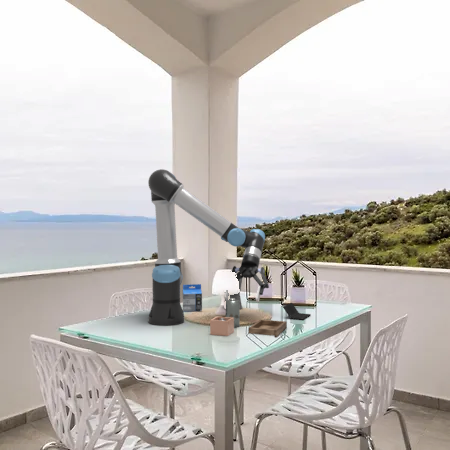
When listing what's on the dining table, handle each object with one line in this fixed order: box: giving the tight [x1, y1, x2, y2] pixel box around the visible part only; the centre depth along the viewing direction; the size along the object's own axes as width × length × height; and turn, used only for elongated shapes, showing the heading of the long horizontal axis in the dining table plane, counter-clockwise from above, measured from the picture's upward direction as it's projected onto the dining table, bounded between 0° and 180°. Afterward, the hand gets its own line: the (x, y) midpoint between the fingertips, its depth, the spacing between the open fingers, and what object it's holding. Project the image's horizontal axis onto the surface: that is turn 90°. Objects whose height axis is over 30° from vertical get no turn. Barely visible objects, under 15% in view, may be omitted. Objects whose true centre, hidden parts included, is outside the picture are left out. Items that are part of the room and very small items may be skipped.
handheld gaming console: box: [283, 302, 311, 321], centre depth 229 cm, size 12×7×10 cm
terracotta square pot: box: [209, 315, 235, 337], centre depth 197 cm, size 7×7×6 cm
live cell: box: [225, 298, 241, 329], centre depth 208 cm, size 6×6×12 cm
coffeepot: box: [230, 278, 243, 310], centre depth 249 cm, size 15×9×18 cm, turn 27°
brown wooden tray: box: [247, 319, 288, 338], centre depth 202 cm, size 11×16×3 cm
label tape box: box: [182, 283, 203, 313], centre depth 242 cm, size 9×4×12 cm, turn 97°
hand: (241, 299), depth 213 cm, fingers open, 13 cm apart
